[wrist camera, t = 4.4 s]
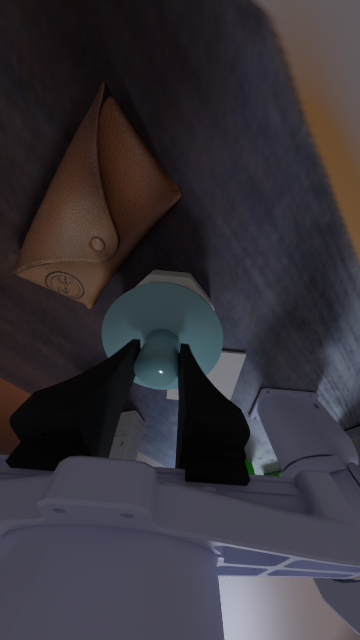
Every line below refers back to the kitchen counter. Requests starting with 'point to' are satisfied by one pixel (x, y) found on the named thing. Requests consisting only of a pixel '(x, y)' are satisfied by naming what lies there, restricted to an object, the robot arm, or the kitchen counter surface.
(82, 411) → the robot arm
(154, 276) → the bowl
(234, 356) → the plate
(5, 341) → the kitchen counter surface
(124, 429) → the skincare box
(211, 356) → the lid
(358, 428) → the hard drive box
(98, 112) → the sunglasses case
